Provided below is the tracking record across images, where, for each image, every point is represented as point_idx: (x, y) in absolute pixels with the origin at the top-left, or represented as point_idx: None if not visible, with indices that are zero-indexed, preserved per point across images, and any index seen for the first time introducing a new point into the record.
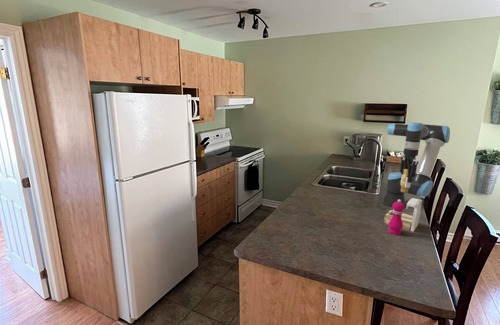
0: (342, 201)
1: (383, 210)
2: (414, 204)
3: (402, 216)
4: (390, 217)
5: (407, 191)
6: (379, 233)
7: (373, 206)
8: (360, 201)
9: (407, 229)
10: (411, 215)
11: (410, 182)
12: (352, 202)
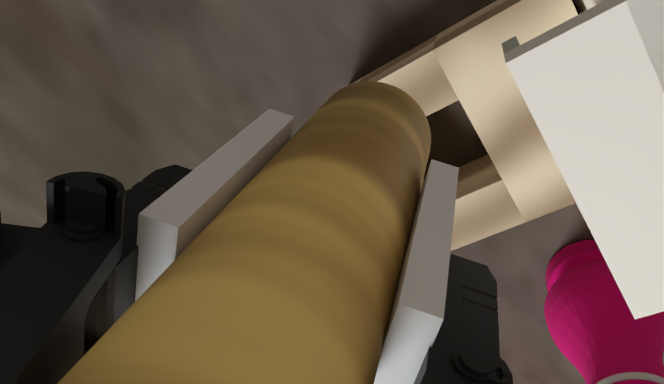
0: (21, 218)
1: (210, 24)
2: None
3: (504, 130)
4: (470, 240)
5: (428, 138)
6: (553, 369)
7: (118, 47)
8: (9, 78)
9: None
10: (523, 7)
11: (483, 276)
12: (36, 160)
